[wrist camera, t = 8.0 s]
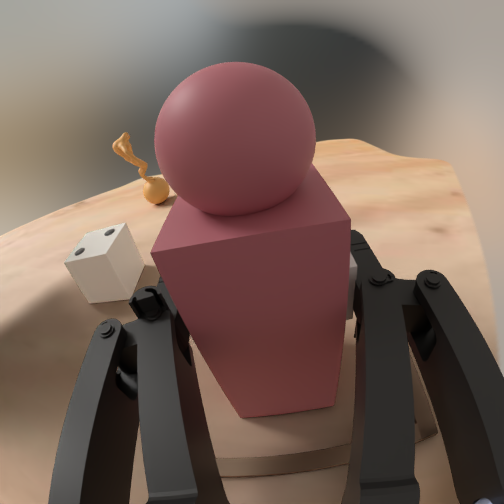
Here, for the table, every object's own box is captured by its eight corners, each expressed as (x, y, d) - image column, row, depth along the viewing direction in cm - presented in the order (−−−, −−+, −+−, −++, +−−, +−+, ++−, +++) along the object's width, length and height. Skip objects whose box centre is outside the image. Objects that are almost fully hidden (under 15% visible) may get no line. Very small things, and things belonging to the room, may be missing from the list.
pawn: (240, 418, 13) (94, 95, 4) (240, 346, 17) (159, 85, 9) (334, 405, 13) (335, 41, 4) (318, 334, 17) (293, 57, 8)
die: (89, 303, 23) (63, 262, 20) (106, 271, 27) (86, 232, 25) (130, 299, 23) (105, 253, 20) (144, 264, 27) (125, 222, 24)
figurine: (180, 204, 38) (156, 122, 31) (141, 222, 36) (111, 139, 29) (165, 191, 44) (144, 123, 37) (132, 205, 42) (108, 137, 35)
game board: (150, 470, 11) (146, 469, 10) (207, 195, 38) (206, 193, 38) (435, 434, 9) (438, 432, 9) (313, 177, 37) (313, 174, 37)
